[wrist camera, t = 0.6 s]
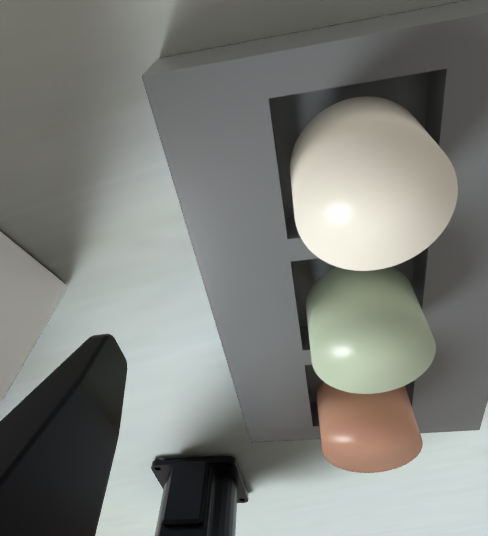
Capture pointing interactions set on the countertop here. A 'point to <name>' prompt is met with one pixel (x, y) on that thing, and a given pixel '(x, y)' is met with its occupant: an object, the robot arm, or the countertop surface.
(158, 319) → the countertop surface
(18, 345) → the milk carton
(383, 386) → the sage button
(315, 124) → the cream button
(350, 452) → the terracotta button
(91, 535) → the robot arm
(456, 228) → the panel
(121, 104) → the countertop surface
